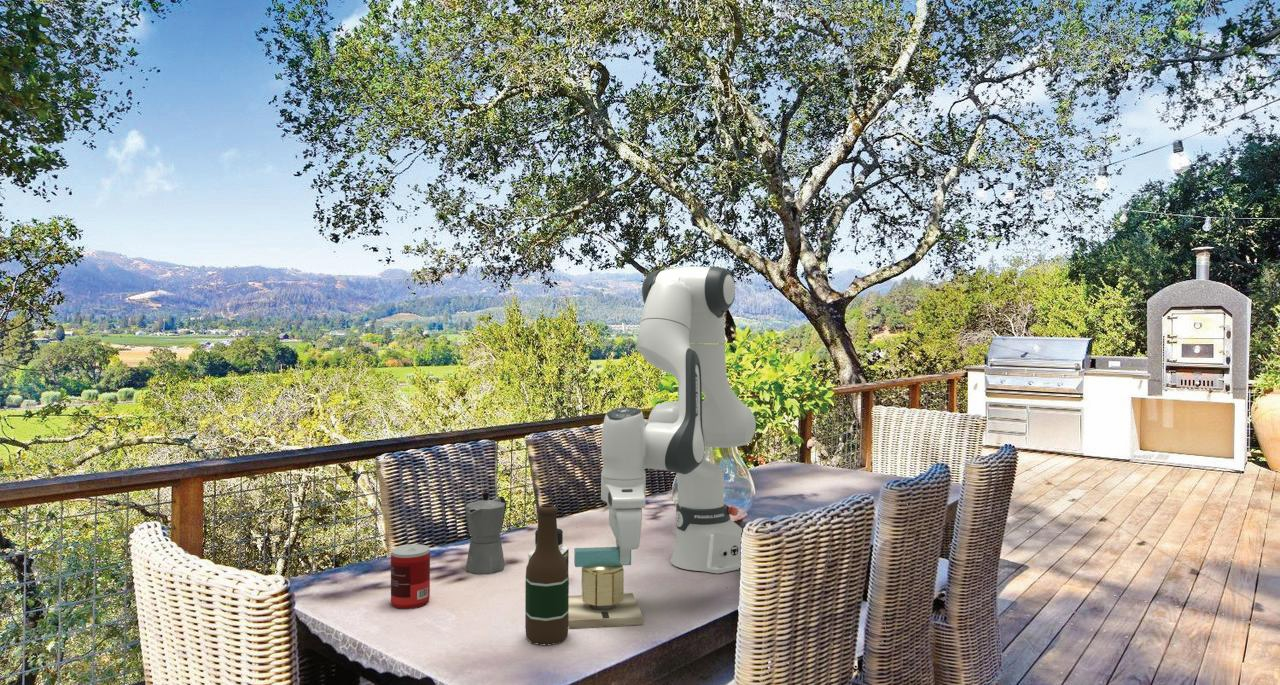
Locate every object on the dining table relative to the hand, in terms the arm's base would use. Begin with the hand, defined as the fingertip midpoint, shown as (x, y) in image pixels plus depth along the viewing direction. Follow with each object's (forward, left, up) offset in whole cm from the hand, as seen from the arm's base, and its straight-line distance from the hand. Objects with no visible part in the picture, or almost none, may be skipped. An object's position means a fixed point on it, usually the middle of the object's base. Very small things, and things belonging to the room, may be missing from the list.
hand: (622, 560), depth 157 cm
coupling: (+4, -1, -7) cm, 8 cm away
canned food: (+38, -22, -11) cm, 45 cm away
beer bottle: (+18, +7, -11) cm, 22 cm away
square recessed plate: (+4, -1, -10) cm, 11 cm away
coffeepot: (+18, -40, -11) cm, 45 cm away
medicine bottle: (+8, -24, -11) cm, 27 cm away
